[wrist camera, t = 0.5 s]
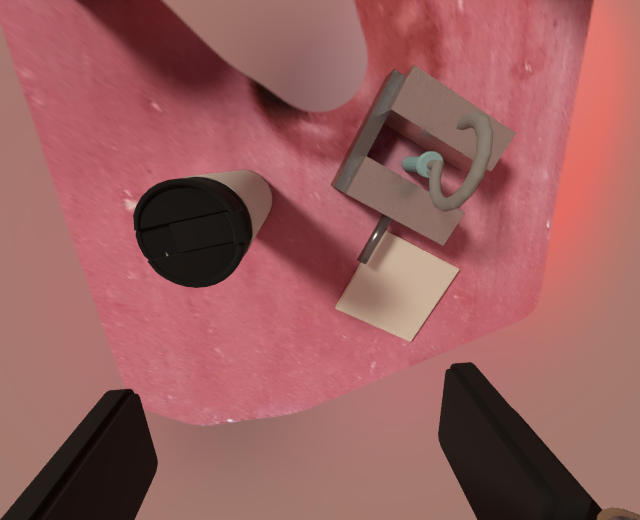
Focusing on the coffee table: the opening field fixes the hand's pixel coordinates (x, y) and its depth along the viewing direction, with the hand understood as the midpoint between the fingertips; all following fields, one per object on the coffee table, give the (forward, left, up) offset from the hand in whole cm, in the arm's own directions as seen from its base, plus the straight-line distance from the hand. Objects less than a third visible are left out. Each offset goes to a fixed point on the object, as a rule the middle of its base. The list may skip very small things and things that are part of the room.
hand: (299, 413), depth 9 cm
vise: (-9, +8, -29) cm, 31 cm away
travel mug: (0, -7, -29) cm, 29 cm away
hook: (-12, +8, -29) cm, 32 cm away
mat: (+2, +15, -29) cm, 32 cm away
